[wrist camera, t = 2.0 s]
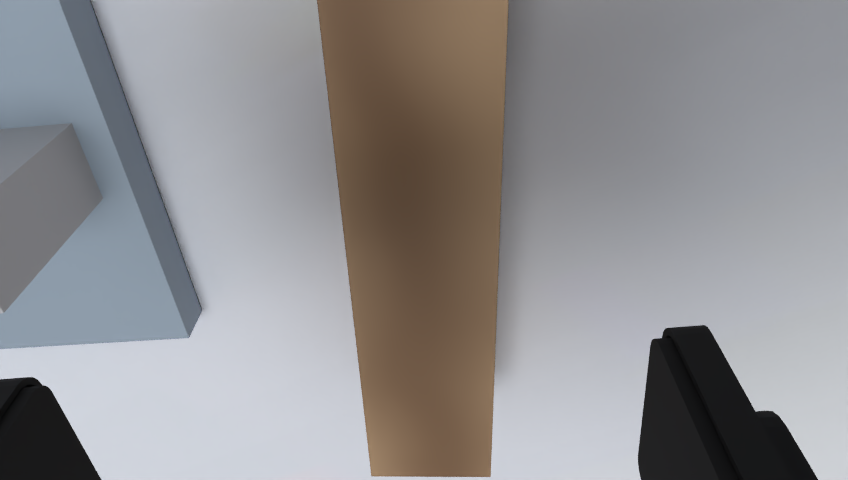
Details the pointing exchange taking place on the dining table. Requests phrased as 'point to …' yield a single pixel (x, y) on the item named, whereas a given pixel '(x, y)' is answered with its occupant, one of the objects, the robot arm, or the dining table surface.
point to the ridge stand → (78, 193)
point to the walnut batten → (421, 219)
